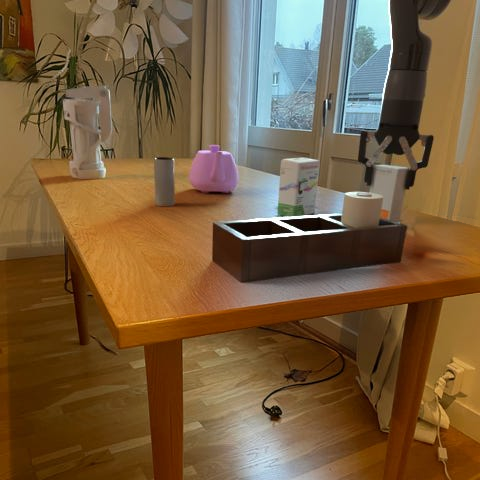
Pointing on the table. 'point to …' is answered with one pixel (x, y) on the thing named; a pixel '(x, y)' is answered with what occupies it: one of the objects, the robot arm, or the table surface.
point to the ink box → (298, 186)
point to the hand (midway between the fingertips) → (388, 187)
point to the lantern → (88, 129)
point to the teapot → (213, 171)
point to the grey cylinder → (164, 181)
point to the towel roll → (361, 209)
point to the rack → (302, 246)
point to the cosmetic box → (390, 189)
